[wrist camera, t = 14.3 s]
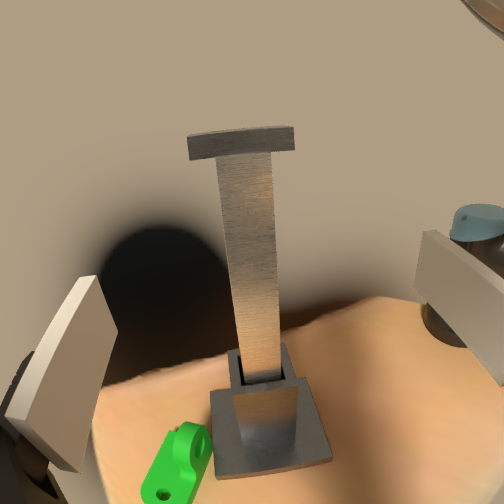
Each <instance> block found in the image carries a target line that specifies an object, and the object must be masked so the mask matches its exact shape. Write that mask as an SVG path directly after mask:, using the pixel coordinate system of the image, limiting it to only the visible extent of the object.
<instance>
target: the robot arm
mask: <svg viewBox="0 0 504 504" xmlns="http://www.w3.org/2000/svg"><path fill="white" fill-rule="evenodd" d="M461 2H462V3H463V4H464V5H465V6H466V7H467V9H468V10H469V11H470V12H471V13H472V14H473V15H474V16H475V17H476V18H477V19H478V20H479V21H480V22H481V23H482V24H483V25H485V26H486V27H487V28H488V29H489V30H491V31H492V32H493V33H494V34H496V35H497V36H499V37H500V38H501V39H502V40H504V0H461ZM449 236H450V239H449V238H447V237H446V236H444V235H443V234H441V233H440V232H438V231H437V230H431V231H423V234H422V241H421V248H420V253H419V259H418V265H417V270H416V276H415V281H414V286H413V287H414V288H415V290H416V291H417V292H418V293H419V294H420V295H421V296H422V297H423V298H424V299H425V300H426V301H427V304H426V307H425V311H424V315H423V319H424V323H425V325H426V327H427V329H428V330H429V331H430V333H431V334H432V335H434V336H435V337H436V338H437V339H439V340H440V341H442V342H444V343H446V344H449V345H452V346H456V347H464V348H467V347H468V348H469V349H470V350H471V351H472V353H473V354H474V355H475V356H476V357H477V359H478V360H479V361H480V362H481V364H482V365H483V366H484V367H485V368H486V370H487V371H488V372H489V373H490V375H491V376H492V377H493V379H494V380H495V381H496V382H497V384H498V385H499V386H500V388H501V387H502V386H504V208H501V207H500V206H496V205H489V204H470V205H466V206H463V207H461V208H459V209H458V210H457V211H456V213H455V215H454V219H453V224H452V229H451V230H450V235H449ZM117 333H118V331H117V329H116V326H115V324H114V321H113V319H112V316H111V314H110V311H109V309H108V306H107V303H106V301H105V298H104V296H103V293H102V290H101V288H100V285H99V282H98V279H97V276H96V275H94V276H86V277H80V278H79V279H78V281H77V282H76V284H75V285H74V287H73V288H72V290H71V291H70V293H69V294H68V296H67V298H66V299H65V301H64V302H63V304H62V306H61V307H60V309H59V311H58V312H57V314H56V315H55V317H54V319H53V321H52V323H51V324H50V326H49V328H48V329H47V331H46V333H45V334H44V336H43V338H42V340H41V342H40V343H39V345H38V347H37V349H36V351H32V352H31V353H30V354H29V355H28V356H27V357H26V358H25V359H24V360H23V361H22V363H21V365H20V367H19V369H18V371H17V372H16V374H17V375H16V376H15V377H14V378H13V380H12V385H10V387H9V389H8V391H7V393H6V395H5V397H4V399H3V401H2V404H1V406H0V504H68V502H67V500H66V499H65V497H64V495H63V493H62V491H61V490H60V487H59V486H58V484H57V482H56V480H55V478H54V476H53V474H52V473H51V471H50V470H49V469H48V464H49V461H50V462H51V463H53V464H54V465H55V466H56V467H57V468H59V469H60V470H63V471H68V472H74V473H80V474H81V468H82V463H83V459H84V453H85V449H86V444H87V440H88V435H89V431H90V427H91V423H92V419H93V415H94V411H95V407H96V403H97V399H98V396H99V392H100V388H101V385H102V381H103V378H104V374H105V371H106V368H107V364H108V361H109V358H110V354H111V351H112V348H113V345H114V342H115V339H116V336H117Z"/></svg>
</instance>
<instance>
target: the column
mask: <svg viewBox="0 0 504 504" xmlns="http://www.w3.org/2000/svg"><path fill="white" fill-rule="evenodd" d="M293 130H294V129H293V127H290V126H267V127H254V128H242V129H231V130H222V131H213V132H205V133H197V134H190V135H189V136H187V143H188V151H189V160H198V159H206V158H214V157H215V158H216V167H217V176H218V185H219V193H220V203H221V211H222V219H223V228H224V236H225V244H226V252H227V259H228V267H229V274H230V282H231V290H232V297H233V305H234V312H235V319H236V326H237V332H238V340H239V347H240V353H241V360H242V367H243V373H244V380H245V386H248V385H255V384H262V383H268V382H274V381H280V380H281V353H280V322H279V296H278V272H277V252H276V232H275V213H274V195H273V179H272V164H271V152H275V151H290V150H295V146H294V131H293Z"/></svg>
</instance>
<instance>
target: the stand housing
mask: <svg viewBox="0 0 504 504" xmlns="http://www.w3.org/2000/svg"><path fill="white" fill-rule="evenodd" d="M227 352H228V362H229V372H230V382H231V389H227V390H218V391H210V402H211V422H212V439H213V454H214V468H215V477H216V479H217V480H227V479H237V478H246V477H254V476H262V475H268V474H274V473H280V472H286V471H291V470H296V469H301V468H306V467H310V466H315V465H319V464H323V463H327V462H331V461H332V458H333V455H332V452H331V450H330V447H329V444H328V441H327V438H326V435H325V432H324V429H323V426H322V423H321V420H320V418H319V415H318V412H317V409H316V406H315V403H314V400H313V397H312V395H311V392H310V389H309V386H308V383H307V380H306V377H304V378H299V379H296V377H295V373H294V370H293V367H292V364H291V361H290V358H289V355H288V351H287V348H286V345H285V343H280V353H281V380H280V381H274V382H268V383H262V384H255V385H248V386H245V380H244V373H243V367H242V360H241V353H240V349H238V350H231V351H227Z"/></svg>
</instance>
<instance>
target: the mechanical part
mask: <svg viewBox="0 0 504 504" xmlns="http://www.w3.org/2000/svg"><path fill="white" fill-rule="evenodd" d="M212 452H213V443H212V440H211V438H210V435H209V433H208V430H207V428H206V426H204V425H200V424H196V423H191V422H184V423H183V424H182V425H181V426H180V427H179V429H178V431H177V432H174V431H171V430H169V432H168V434H167V436H166V438H165V440H164V442H163V444H162V446H161V448H160V450H159V452H158V454H157V456H156V458H155V460H154V462H153V464H152V466H151V468H150V470H149V472H148V474H147V476H146V478H145V480H144V482H143V484H142V486H141V498H142V500H143V502H144V503H145V504H192V502H193V500H194V497H195V495H196V492H197V490H198V487H199V485H200V482H201V480H202V477H203V475H204V472H205V470H206V467H207V465H208V462H209V459H210V457H211V454H212ZM164 493H171V496H170V498H169V499H168V500H166V501H161V496H162V495H163V494H164Z"/></svg>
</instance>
